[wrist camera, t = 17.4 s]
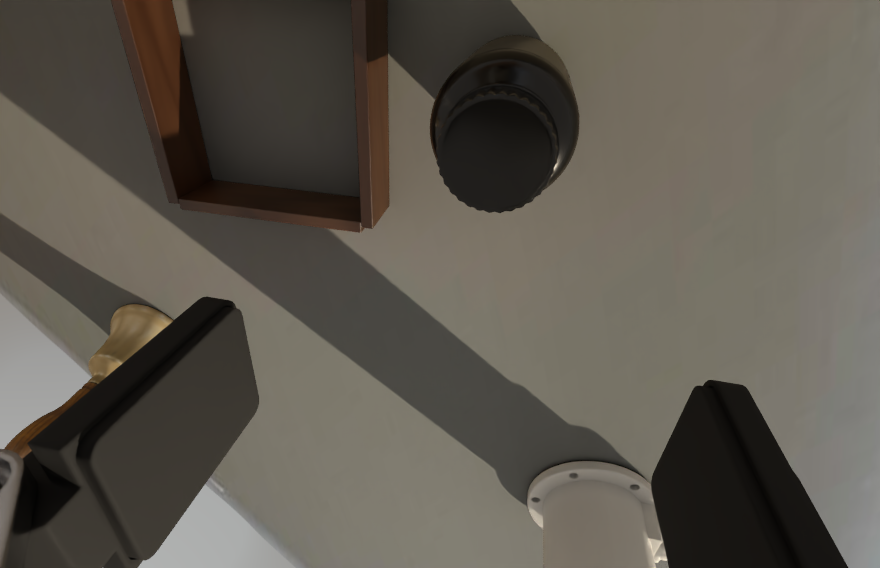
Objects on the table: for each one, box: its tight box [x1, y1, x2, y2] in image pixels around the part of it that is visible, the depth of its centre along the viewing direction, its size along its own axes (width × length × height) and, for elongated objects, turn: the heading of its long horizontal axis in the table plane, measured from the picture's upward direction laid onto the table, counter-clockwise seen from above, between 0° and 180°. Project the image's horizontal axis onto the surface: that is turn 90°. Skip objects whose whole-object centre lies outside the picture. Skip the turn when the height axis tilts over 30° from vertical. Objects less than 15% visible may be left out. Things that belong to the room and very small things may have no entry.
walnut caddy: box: [111, 0, 389, 232], centre depth 28 cm, size 15×15×4 cm
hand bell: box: [5, 304, 173, 459], centre depth 38 cm, size 8×8×16 cm
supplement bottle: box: [430, 35, 579, 213], centre depth 23 cm, size 7×7×12 cm
